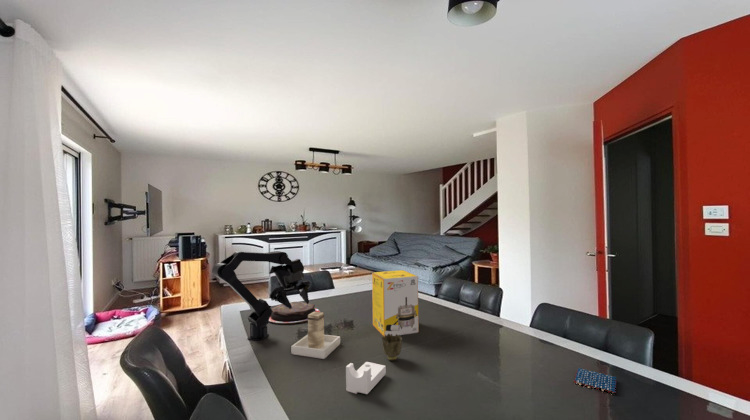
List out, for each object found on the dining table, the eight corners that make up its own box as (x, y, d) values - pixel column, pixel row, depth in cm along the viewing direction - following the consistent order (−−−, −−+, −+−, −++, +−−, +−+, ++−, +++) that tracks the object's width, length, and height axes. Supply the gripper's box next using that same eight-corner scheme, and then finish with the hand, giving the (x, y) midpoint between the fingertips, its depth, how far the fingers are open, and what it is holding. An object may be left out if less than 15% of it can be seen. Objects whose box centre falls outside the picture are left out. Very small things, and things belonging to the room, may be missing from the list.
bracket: (367, 397, 92) (366, 371, 92) (346, 391, 95) (345, 366, 95) (385, 376, 104) (385, 353, 104) (366, 372, 107) (366, 349, 107)
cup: (404, 356, 118) (404, 334, 118) (399, 365, 111) (399, 342, 111) (385, 353, 120) (385, 332, 120) (379, 362, 113) (379, 339, 113)
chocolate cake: (279, 307, 182) (279, 296, 183) (326, 309, 179) (326, 297, 179) (254, 324, 155) (254, 311, 155) (309, 326, 151) (309, 313, 151)
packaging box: (404, 320, 156) (403, 270, 157) (418, 332, 141) (417, 276, 141) (372, 324, 151) (372, 272, 152) (384, 337, 136) (383, 279, 136)
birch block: (308, 348, 124) (307, 314, 124) (314, 343, 128) (313, 311, 128) (318, 349, 122) (318, 316, 122) (324, 345, 127) (323, 312, 127)
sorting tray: (291, 354, 121) (291, 346, 121) (310, 339, 134) (309, 332, 134) (324, 358, 116) (324, 350, 116) (340, 343, 130) (340, 336, 130)
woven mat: (576, 372, 105) (576, 366, 105) (616, 382, 99) (616, 376, 99) (572, 386, 97) (572, 379, 97) (616, 398, 91) (616, 391, 91)
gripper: (273, 268, 134) (290, 299, 127) (308, 263, 148) (324, 290, 141) (263, 285, 138) (278, 315, 132) (297, 277, 153) (313, 304, 146)
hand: (299, 305), depth 138 cm, fingers open, 9 cm apart
